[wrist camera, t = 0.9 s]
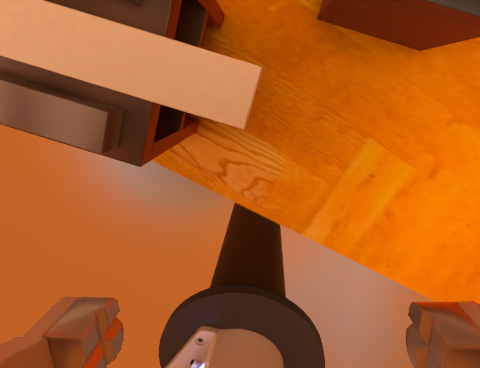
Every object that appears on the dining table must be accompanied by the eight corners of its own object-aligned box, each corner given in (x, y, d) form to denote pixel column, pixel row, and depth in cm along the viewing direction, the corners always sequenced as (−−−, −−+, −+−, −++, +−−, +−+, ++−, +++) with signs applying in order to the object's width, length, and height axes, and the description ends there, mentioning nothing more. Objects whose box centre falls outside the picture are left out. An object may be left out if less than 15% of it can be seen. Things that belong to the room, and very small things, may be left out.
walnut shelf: (224, 14, 38) (171, -72, 17) (196, 132, 43) (126, 176, 22) (122, -17, 38) (-54, -141, 17) (105, 104, 43) (-51, 122, 22)
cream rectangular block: (263, 68, 22) (262, 66, 19) (246, 125, 23) (243, 129, 20) (-17, -17, 21) (-53, -30, 19) (-18, 44, 23) (-52, 40, 20)
